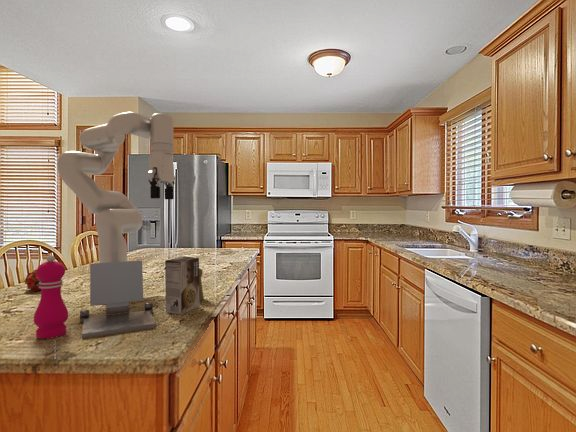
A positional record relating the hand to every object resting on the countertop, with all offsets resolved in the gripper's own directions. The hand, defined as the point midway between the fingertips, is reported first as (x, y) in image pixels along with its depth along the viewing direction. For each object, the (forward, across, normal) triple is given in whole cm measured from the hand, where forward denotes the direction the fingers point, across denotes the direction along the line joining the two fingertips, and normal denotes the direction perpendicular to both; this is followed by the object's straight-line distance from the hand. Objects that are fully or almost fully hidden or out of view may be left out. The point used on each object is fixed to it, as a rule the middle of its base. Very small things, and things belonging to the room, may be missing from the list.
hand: (162, 198), depth 123 cm
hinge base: (+35, +28, +2) cm, 45 cm away
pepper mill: (+35, +38, -10) cm, 53 cm away
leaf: (+27, +21, -3) cm, 34 cm away
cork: (+36, 0, +12) cm, 37 cm away
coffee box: (+36, +12, +13) cm, 40 cm away
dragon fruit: (+35, -5, -54) cm, 65 cm away
